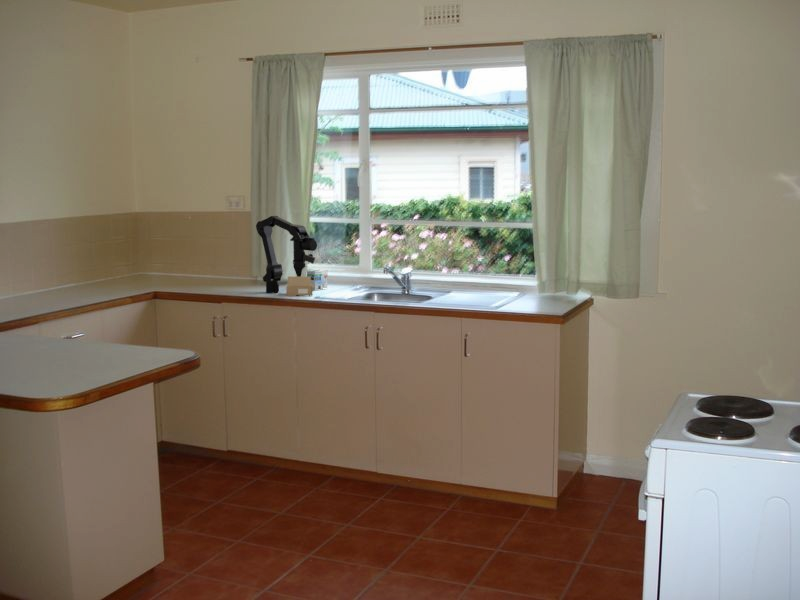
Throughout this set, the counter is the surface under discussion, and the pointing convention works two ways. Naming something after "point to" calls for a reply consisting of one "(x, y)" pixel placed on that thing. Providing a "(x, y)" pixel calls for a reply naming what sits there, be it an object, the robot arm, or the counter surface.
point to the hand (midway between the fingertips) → (299, 279)
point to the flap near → (299, 281)
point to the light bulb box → (318, 278)
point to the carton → (299, 290)
